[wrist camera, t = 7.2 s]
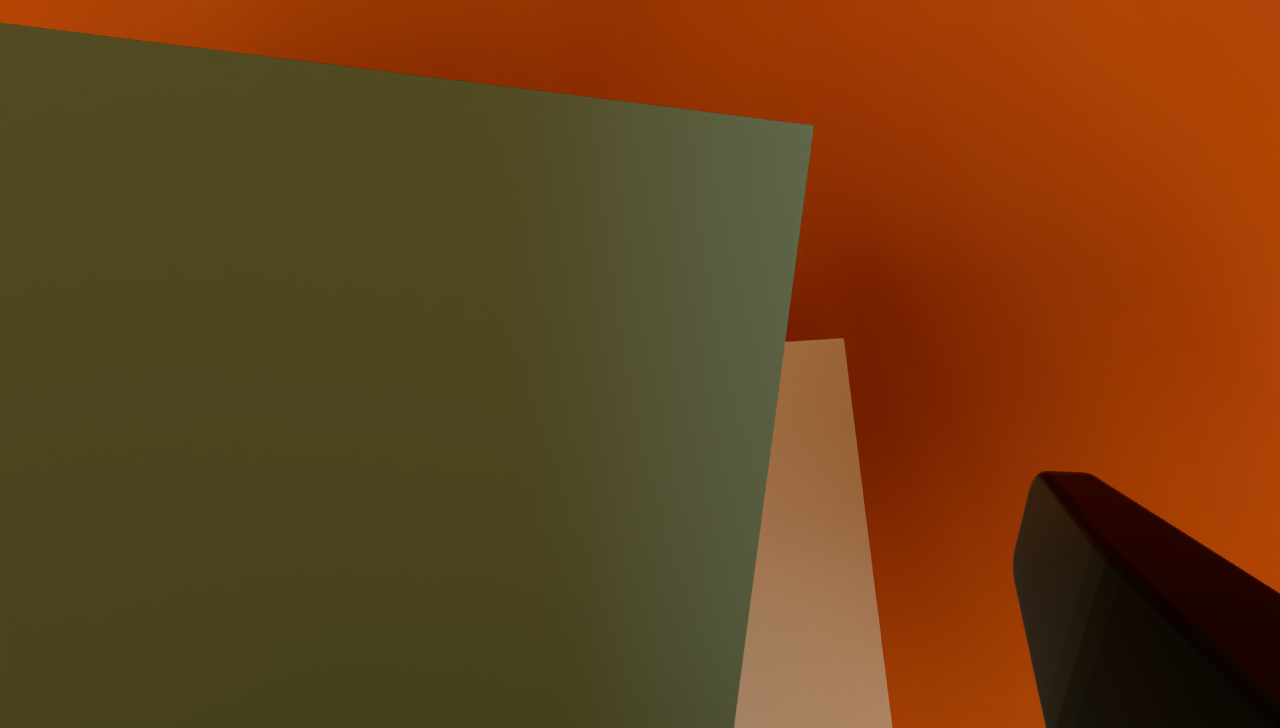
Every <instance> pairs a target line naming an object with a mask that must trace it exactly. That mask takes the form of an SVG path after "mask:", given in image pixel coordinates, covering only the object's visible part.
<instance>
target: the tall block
mask: <svg viewBox="0 0 1280 728" xmlns="http://www.w3.org/2000/svg"><path fill="white" fill-rule="evenodd" d="M813 129H814V125H806V124H798V123H790V122H782V121H774V120H766V119H758V118H750V117H742V116H735V115H727V114H719V113H711V112H703V111H695V110H687V109H679V108H671V107H663V106H655V105H647V104H640V103H632V102H624V101H616V100H608V99H600V98H592V97H584V96H576V95H568V94H560V93H552V92H545V91H537V90H529V89H521V88H513V87H505V86H497V85H489V84H481V83H473V82H465V81H457V80H450V79H442V78H434V77H426V76H418V75H410V74H402V73H394V72H386V71H378V70H370V69H362V68H355V67H347V66H339V65H331V64H323V63H315V62H307V61H299V60H291V59H283V58H275V57H267V56H260V55H252V54H244V53H236V52H228V51H220V50H212V49H204V48H196V47H188V46H180V45H172V44H165V43H157V42H149V41H141V40H133V39H125V38H117V37H109V36H101V35H93V34H85V33H77V32H70V31H62V30H54V29H46V28H38V27H30V26H22V25H14V24H6V23H0V728H734V723H735V716H736V708H737V701H738V693H739V686H740V678H741V671H742V663H743V656H744V648H745V640H746V633H747V625H748V618H749V610H750V603H751V595H752V588H753V580H754V573H755V565H756V558H757V550H758V543H759V535H760V528H761V520H762V513H763V505H764V498H765V490H766V483H767V475H768V468H769V460H770V453H771V445H772V437H773V430H774V422H775V415H776V407H777V400H778V392H779V385H780V377H781V370H782V362H783V355H784V347H785V340H786V332H787V325H788V317H789V310H790V302H791V295H792V287H793V280H794V272H795V265H796V257H797V250H798V242H799V234H800V227H801V219H802V212H803V204H804V197H805V189H806V182H807V174H808V167H809V159H810V152H811V144H812V137H813Z"/></svg>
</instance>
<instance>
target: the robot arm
mask: <svg viewBox="0 0 1280 728" xmlns="http://www.w3.org/2000/svg"><path fill="white" fill-rule="evenodd" d="M1013 575H1014V582H1015V587H1016V592H1017V596H1018V601H1019V605H1020V610H1021V615H1022V619H1023V624H1024V629H1025V633H1026V638H1027V643H1028V647H1029V652H1030V657H1031V661H1032V666H1033V671H1034V675H1035V680H1036V685H1037V689H1038V694H1039V699H1040V703H1041V708H1042V712H1043V717H1044V721H1045V725H1046V728H1280V593H1278V592H1277V591H1275V590H1274V589H1272V588H1270V587H1269V586H1267V585H1266V584H1264V583H1263V582H1261V581H1259V580H1258V579H1256V578H1255V577H1253V576H1251V575H1250V574H1248V573H1247V572H1245V571H1244V570H1242V569H1240V568H1239V567H1237V566H1236V565H1234V564H1233V563H1231V562H1229V561H1228V560H1226V559H1225V558H1223V557H1221V556H1220V555H1218V554H1217V553H1215V552H1214V551H1212V550H1210V549H1209V548H1207V547H1206V546H1204V545H1203V544H1201V543H1199V542H1198V541H1196V540H1195V539H1193V538H1191V537H1190V536H1188V535H1187V534H1185V533H1184V532H1182V531H1180V530H1179V529H1177V528H1176V527H1174V526H1172V525H1171V524H1169V523H1168V522H1166V521H1165V520H1163V519H1161V518H1160V517H1158V516H1157V515H1155V514H1154V513H1152V512H1150V511H1149V510H1147V509H1146V508H1144V507H1142V506H1141V505H1139V504H1138V503H1136V502H1135V501H1133V500H1131V499H1130V498H1128V497H1127V496H1125V495H1124V494H1122V493H1120V492H1119V491H1117V490H1116V489H1114V488H1112V487H1111V486H1109V485H1108V484H1106V483H1105V482H1103V481H1101V480H1100V479H1098V478H1097V477H1095V476H1093V475H1091V474H1088V473H1083V472H1058V471H1044V472H1041V473H1039V474H1038V475H1037V476H1036V477H1035V478H1034V480H1033V482H1032V484H1031V486H1030V489H1029V493H1028V497H1027V501H1026V505H1025V509H1024V513H1023V517H1022V521H1021V526H1020V530H1019V534H1018V538H1017V542H1016V546H1015V550H1014V557H1013Z"/></svg>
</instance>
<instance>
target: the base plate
mask: <svg viewBox="0 0 1280 728" xmlns="http://www.w3.org/2000/svg"><path fill="white" fill-rule="evenodd" d="M734 728H892V721H891V713H890V705H889V697H888V689H887V681H886V673H885V665H884V657H883V649H882V641H881V633H880V625H879V617H878V609H877V601H876V593H875V585H874V577H873V569H872V561H871V553H870V545H869V537H868V529H867V521H866V513H865V505H864V497H863V489H862V481H861V472H860V464H859V456H858V448H857V440H856V432H855V424H854V416H853V408H852V400H851V392H850V384H849V376H848V368H847V360H846V352H845V344H844V338H838V339H823V340H807V341H792V342H785V347H784V355H783V362H782V370H781V377H780V385H779V392H778V400H777V407H776V415H775V422H774V430H773V437H772V445H771V453H770V460H769V468H768V475H767V483H766V490H765V498H764V505H763V513H762V520H761V528H760V535H759V543H758V550H757V558H756V565H755V573H754V580H753V588H752V595H751V603H750V610H749V618H748V625H747V633H746V640H745V648H744V656H743V663H742V671H741V678H740V686H739V693H738V701H737V708H736V716H735V723H734Z"/></svg>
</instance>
